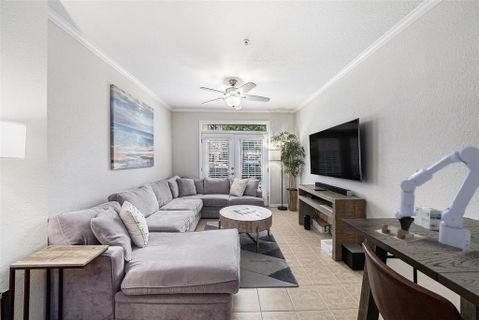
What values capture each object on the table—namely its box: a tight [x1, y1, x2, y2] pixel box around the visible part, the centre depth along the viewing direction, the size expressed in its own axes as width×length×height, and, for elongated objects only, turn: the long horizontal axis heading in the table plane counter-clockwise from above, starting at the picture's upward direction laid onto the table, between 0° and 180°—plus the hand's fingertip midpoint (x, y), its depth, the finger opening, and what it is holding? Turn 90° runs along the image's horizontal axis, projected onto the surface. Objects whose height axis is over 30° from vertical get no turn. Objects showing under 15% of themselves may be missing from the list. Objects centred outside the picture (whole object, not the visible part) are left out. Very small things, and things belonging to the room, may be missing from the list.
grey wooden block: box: [387, 225, 415, 239], centre depth 103 cm, size 10×7×2 cm
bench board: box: [373, 223, 427, 243], centre depth 104 cm, size 15×16×5 cm
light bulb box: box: [413, 205, 443, 231], centre depth 121 cm, size 11×7×11 cm, turn 179°
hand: (404, 231), depth 106 cm, fingers closed
